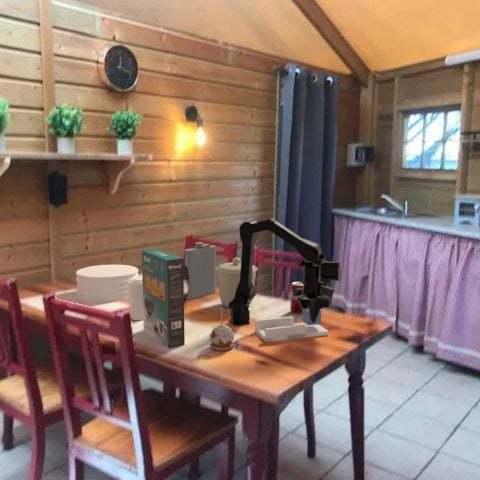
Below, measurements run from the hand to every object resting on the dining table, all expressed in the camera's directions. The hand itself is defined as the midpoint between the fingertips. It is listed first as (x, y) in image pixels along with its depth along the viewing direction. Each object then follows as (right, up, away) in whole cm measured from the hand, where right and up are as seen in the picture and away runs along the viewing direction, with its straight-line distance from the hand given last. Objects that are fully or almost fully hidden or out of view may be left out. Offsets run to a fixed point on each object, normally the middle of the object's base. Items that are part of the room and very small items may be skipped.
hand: (310, 320), depth 189 cm
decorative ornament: (-32, -7, -16) cm, 36 cm away
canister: (-27, +1, +34) cm, 44 cm away
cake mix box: (-53, -5, -6) cm, 54 cm away
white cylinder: (-66, -2, +15) cm, 68 cm away
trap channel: (-7, -5, -2) cm, 9 cm away
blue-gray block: (0, -1, 0) cm, 1 cm away
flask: (-44, +3, +51) cm, 68 cm away
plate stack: (-88, +4, +53) cm, 102 cm away
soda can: (-1, -1, +25) cm, 25 cm away
